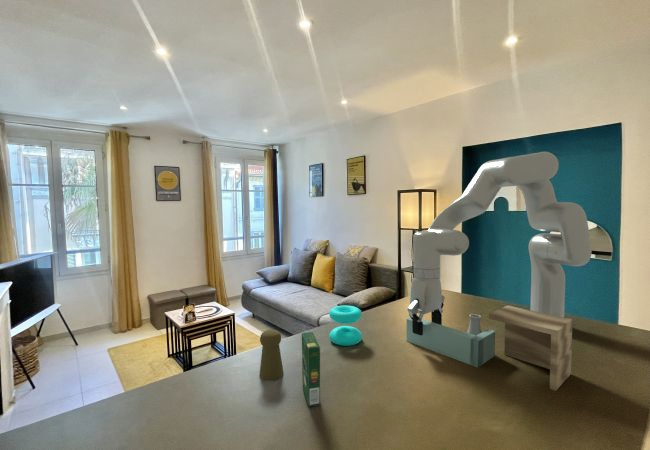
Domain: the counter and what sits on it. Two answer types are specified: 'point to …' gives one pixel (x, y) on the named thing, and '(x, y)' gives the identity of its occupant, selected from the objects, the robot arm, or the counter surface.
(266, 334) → the olive pawn
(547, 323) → the wooden corner bracket
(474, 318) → the flask
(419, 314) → the robot arm
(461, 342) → the block
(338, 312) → the donuts
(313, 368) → the coffee box
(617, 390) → the counter surface
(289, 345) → the counter surface
